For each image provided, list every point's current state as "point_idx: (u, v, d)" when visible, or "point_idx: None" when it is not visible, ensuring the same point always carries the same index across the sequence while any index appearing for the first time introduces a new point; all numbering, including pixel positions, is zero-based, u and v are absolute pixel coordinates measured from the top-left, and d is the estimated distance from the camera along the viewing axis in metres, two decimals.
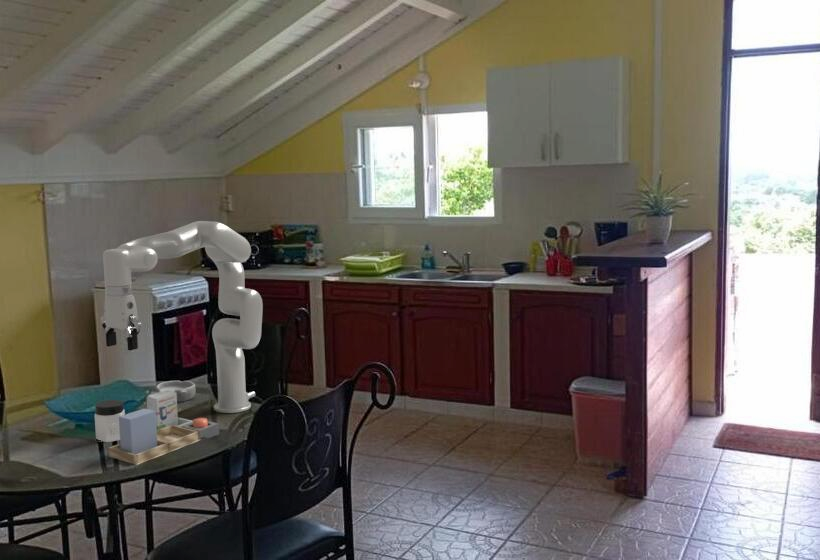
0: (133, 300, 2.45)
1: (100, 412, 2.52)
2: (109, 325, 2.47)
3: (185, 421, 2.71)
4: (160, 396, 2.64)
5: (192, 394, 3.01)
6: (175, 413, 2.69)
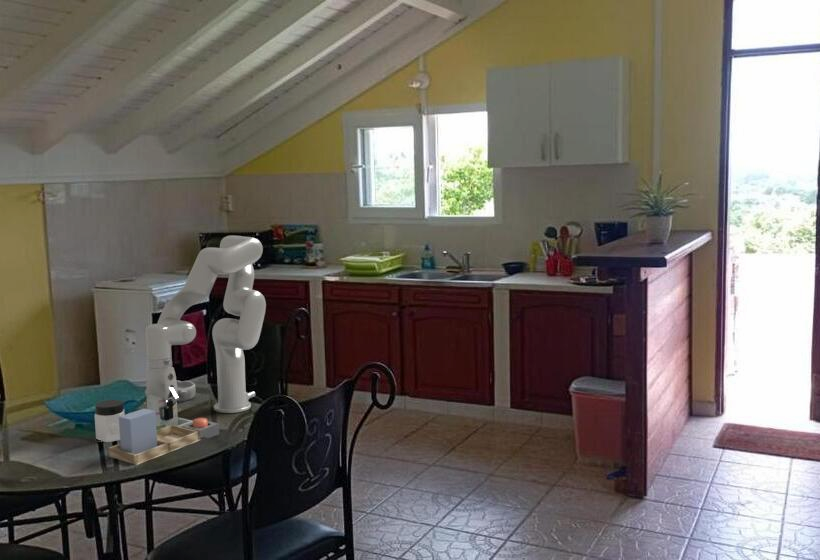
0: (173, 371, 2.64)
1: (100, 412, 2.52)
2: (150, 394, 2.66)
3: (185, 421, 2.71)
4: None
5: (192, 394, 3.01)
6: (175, 413, 2.69)
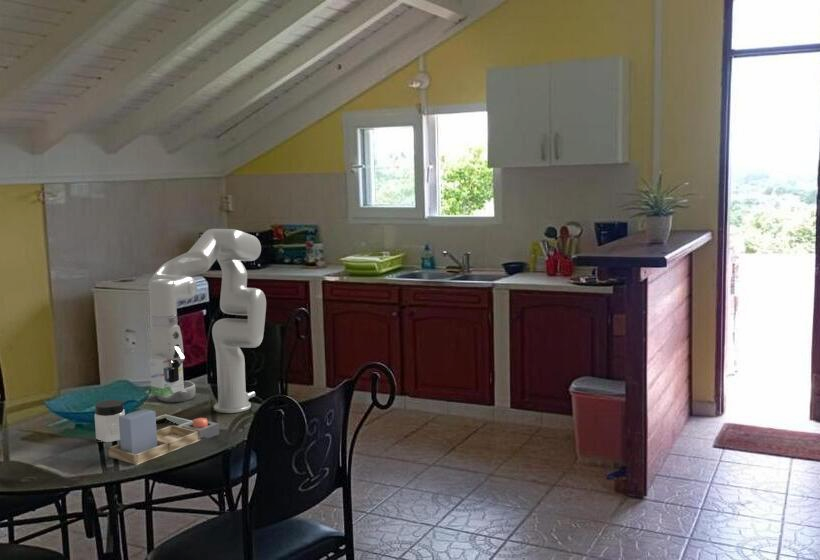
0: (179, 330, 2.46)
1: (100, 412, 2.52)
2: None
3: (185, 421, 2.71)
4: None
5: (192, 394, 3.01)
6: (180, 375, 2.51)
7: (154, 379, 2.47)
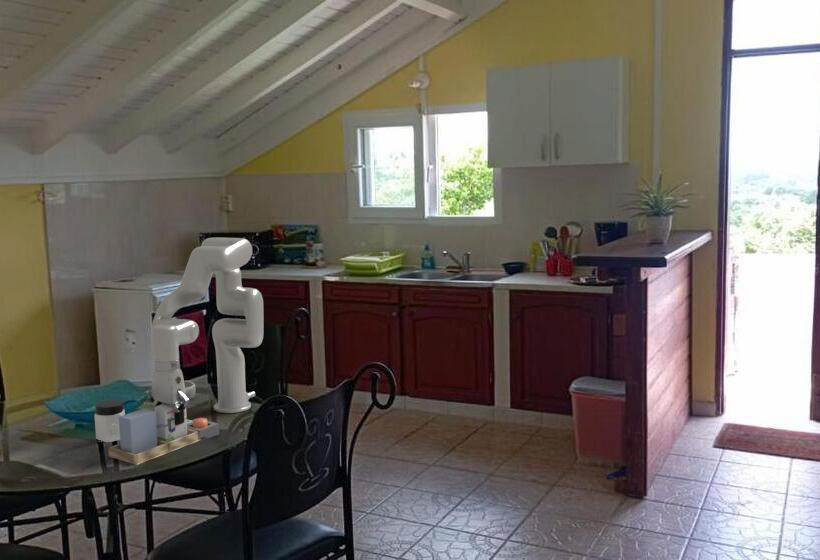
0: (181, 374, 2.48)
1: (100, 412, 2.52)
2: (157, 399, 2.51)
3: None
4: (168, 407, 2.49)
5: (192, 394, 3.01)
6: (184, 425, 2.53)
7: (158, 429, 2.49)
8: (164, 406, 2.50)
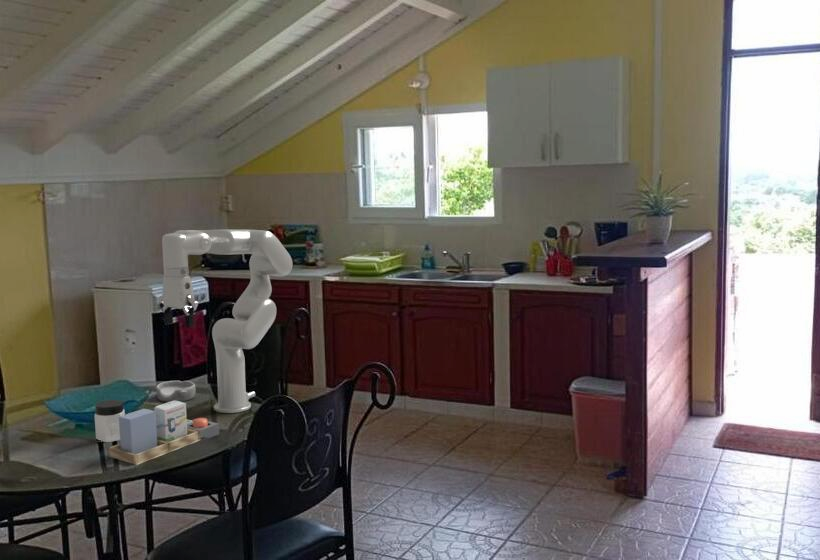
0: (190, 281, 2.63)
1: (100, 412, 2.52)
2: (167, 304, 2.65)
3: None
4: (168, 407, 2.49)
5: (192, 394, 3.01)
6: (184, 425, 2.53)
7: (158, 429, 2.49)
8: (164, 406, 2.50)
